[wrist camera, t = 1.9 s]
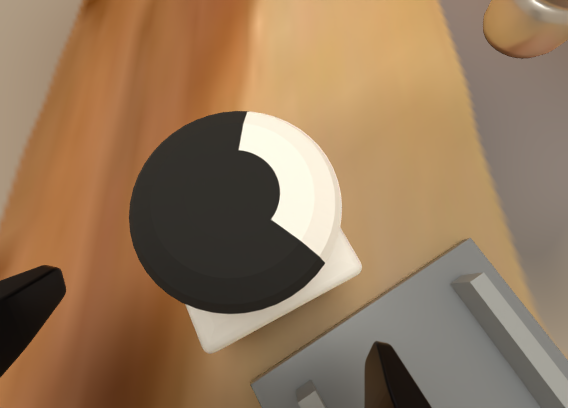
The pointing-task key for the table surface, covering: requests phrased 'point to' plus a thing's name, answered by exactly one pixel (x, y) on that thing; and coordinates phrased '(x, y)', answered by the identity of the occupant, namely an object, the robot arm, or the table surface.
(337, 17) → the table surface
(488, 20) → the plastic bottle
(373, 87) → the table surface
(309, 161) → the medicine bottle
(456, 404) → the bottle holder
